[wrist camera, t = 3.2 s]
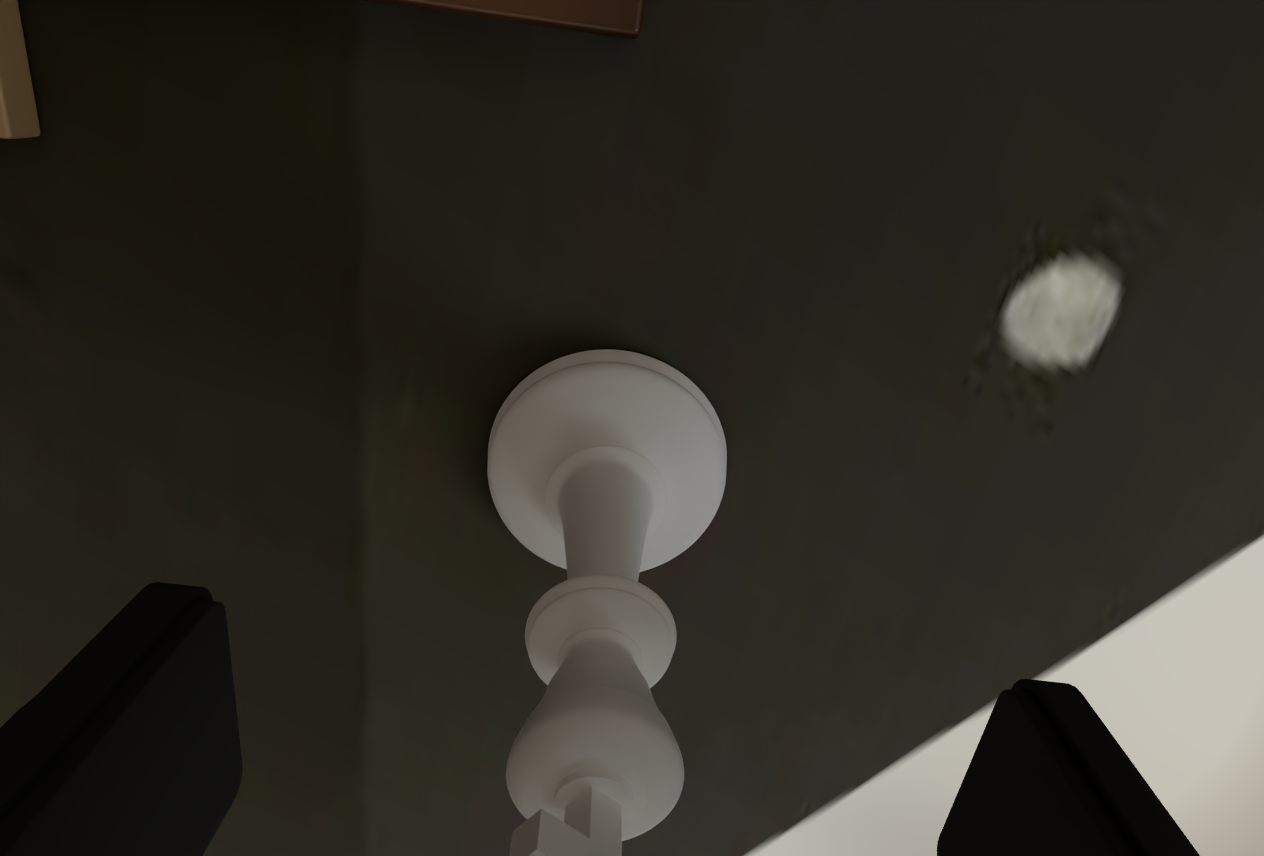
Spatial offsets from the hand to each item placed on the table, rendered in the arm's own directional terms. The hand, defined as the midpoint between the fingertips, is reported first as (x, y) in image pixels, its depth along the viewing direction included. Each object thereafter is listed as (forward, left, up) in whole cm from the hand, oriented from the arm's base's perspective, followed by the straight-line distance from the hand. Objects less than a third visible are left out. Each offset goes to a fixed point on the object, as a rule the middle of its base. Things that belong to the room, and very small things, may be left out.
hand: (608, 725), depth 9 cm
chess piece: (0, 0, -7) cm, 7 cm away
